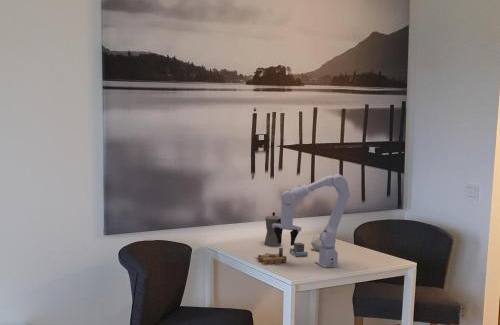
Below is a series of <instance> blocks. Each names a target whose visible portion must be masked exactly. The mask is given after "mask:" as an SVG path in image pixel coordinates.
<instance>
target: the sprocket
mask: <svg viewBox="0 0 500 325" xmlns="http://www.w3.org/2000/svg"><path fill="white" fill-rule="evenodd" d="M278 249H279V250H278V253H265V254H257V257H258V260H257V261H258V262H259V261H263V262H264V263H275V264H279V263H280V262H286V261H287V259H288V258H287V256H286V255H284V253H283V252H284V248H283V247H279V248H278Z"/></svg>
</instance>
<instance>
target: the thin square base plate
mask: <svg viewBox="0 0 500 325" xmlns="http://www.w3.org/2000/svg"><path fill="white" fill-rule="evenodd" d="M254 259H256V260H257V261H258V256H255V257H254ZM258 262H259V263H261V264H262V265H264V266H276V265H290V262H289V261H287V260H286V262H280V263H279V264H275V263H264V262H263V261H258Z"/></svg>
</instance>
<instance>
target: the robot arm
mask: <svg viewBox="0 0 500 325" xmlns="http://www.w3.org/2000/svg"><path fill="white" fill-rule="evenodd" d="M323 187H334V188H335V191H336V193H337V194H338V195H337V198H336V201H335V203H334V206H333V209H332V211H331V214H330V217H329V220H328V222H327V224H326V226H325V227H324V229H323V231H322V232H320V240H321V244H320V251H318V252H319V254H318V255H319V256H318V257H319V258H318V260H317V261H315V264H317V265H318V266H321V267H323V268H324V269H325V268H339V267H340V265H339V264H338V256H339V254H338V251H337V250H336V245H335V244H336V242H337V241H336V237H337V232H338V231H337V230H338V227H339V226H340V222H341V219H342V217H343V214H344V212H345V209H346V206H347V203H348V201H349V198H350V195H351V194H350V193H351V192H350V189H349V182H348V181H347V179H346V177H345V176H344V175H342V174H341V173H338V172H336V173H333V174H329V175H326V176H325V177H322V178H320V179H318V180H316V181H314V182H312V183H310V184H307V185H306V184H304V183H303V184H301V183H300V184H298V186H296V187H294V188H289V190H284V191H283V192H282V193H281V195H280V199H281V206H280V207H281V208H280V210H281V212H280V217H281V224H275V223H274V224H272V228H275V229H274V232H275V234H276V236H277V240H278V244H280V243H281V244H282V236H283V230H287V231H289V234H290V246H293V247H294V243H296V239H297V236H298V234H299V233H300V232H302V227H301V226H298V225H295V224H294V223H293V222H294V202H295V201H298V200H300V199H303V198H305V197H307V196H309V194H310V192H312V191H315V190H318V189H320V188H323Z"/></svg>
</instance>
